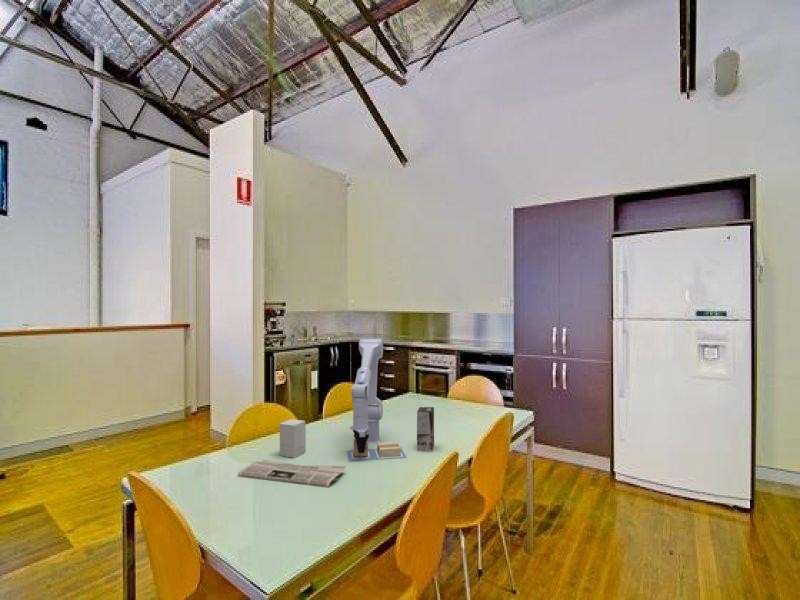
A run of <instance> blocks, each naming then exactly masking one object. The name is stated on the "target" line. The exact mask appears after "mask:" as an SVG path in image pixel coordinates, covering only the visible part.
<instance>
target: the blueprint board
mask: <svg viewBox="0 0 800 600" xmlns="http://www.w3.org/2000/svg"><path fill="white" fill-rule="evenodd" d="M400 448H401V456H397V457H382V458H380V456H379V454H378V451H377V448H371V449H369V448H368V456H356V457H355V456H354V449H352V450H346V456H347V462H349V463H351V462H367V461H380V460H382V461H383V460H396V459H397V460H398V459H407V458H408V457H407V456H406V453H405V452H404V450H403V448H402V447H401V446H400Z"/></svg>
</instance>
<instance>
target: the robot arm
mask: <svg viewBox="0 0 800 600" xmlns="http://www.w3.org/2000/svg"><path fill="white" fill-rule="evenodd" d="M358 351H359V353H360V355H361V365H360V367H359V368H358V369H357V371H356V376H355V381H354V384H352V386H351V391H350V392H351V393H350V395H351V403H352V408H353V409H352V411H353V412H352V420H353V421H352V425H350V426H349V429H350V430H352V432H353V437H354V439H356V442H357V448H358V452H359V453H364V451H365V446H366V442H368V444H372V443H376V444H377V443H382V441H381V438H380V421H381V420H382V419H383V415H384V409H383V408H384V407H383V401H382V400H381V399H380V398H379V397H377V392H378V389H377V388H378V364H379V360H380V359H382V358H383V355H384V342H383V339H382V338H360V339H359V342H358Z"/></svg>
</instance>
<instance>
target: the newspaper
mask: <svg viewBox="0 0 800 600" xmlns="http://www.w3.org/2000/svg"><path fill="white" fill-rule="evenodd" d="M346 468H347V465H318V464H297V463H292V462H283V461H281V462H280V461H275V460H267V459H265V460H264V459H262V460H261V461H259V460H258V461H253V462H252V463H250V464H248V465H246V466H245V467H243V468H242V469H241V470H239V471H238V472H237V477H242V478H249V479H257V480H263V481H265V480H267V481H272V482H273V481H274V482H281V483H289V484H298V485H307V486H314V487H322V488H330V485H331V482H332V481H333V480H334V479H335V478H337V477H338V476H339V475H340V474H342V473H343V472H344V471H345V470H346Z"/></svg>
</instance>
